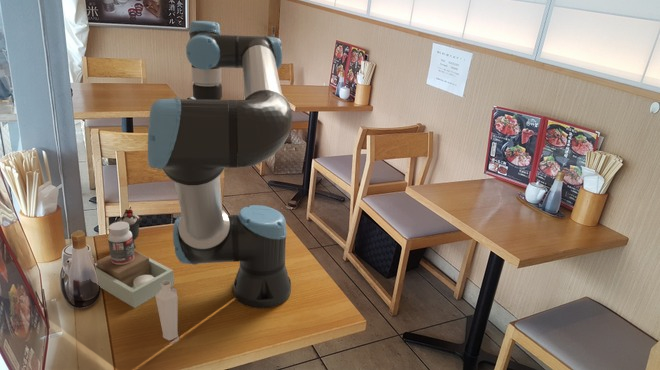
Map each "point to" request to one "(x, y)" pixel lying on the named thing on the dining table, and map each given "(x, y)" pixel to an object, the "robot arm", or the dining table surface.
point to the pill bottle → (121, 243)
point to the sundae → (131, 222)
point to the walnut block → (125, 268)
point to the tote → (140, 293)
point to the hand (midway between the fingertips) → (210, 158)
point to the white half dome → (141, 280)
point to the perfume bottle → (168, 311)
